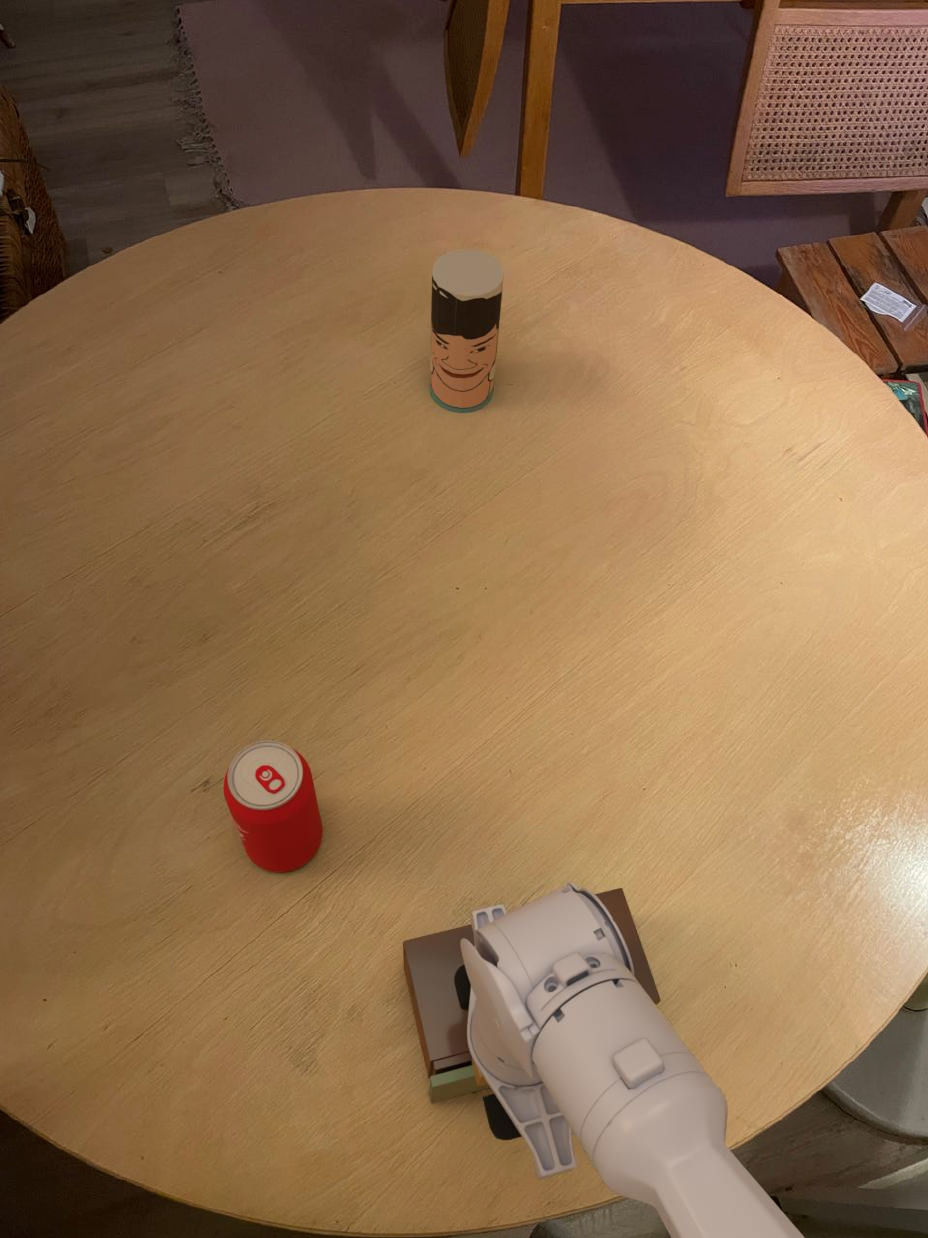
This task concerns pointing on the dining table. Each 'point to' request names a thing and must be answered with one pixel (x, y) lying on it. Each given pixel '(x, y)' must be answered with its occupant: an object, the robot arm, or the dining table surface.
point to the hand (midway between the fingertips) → (508, 1062)
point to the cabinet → (436, 995)
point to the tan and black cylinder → (464, 329)
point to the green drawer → (456, 1083)
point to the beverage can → (274, 805)
